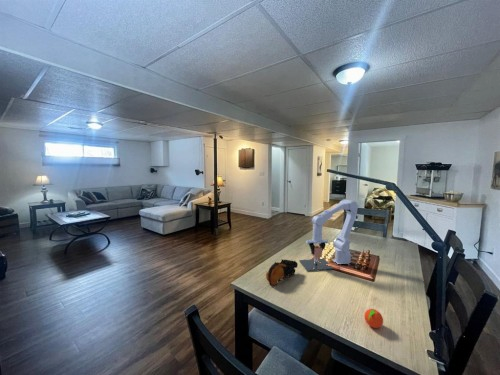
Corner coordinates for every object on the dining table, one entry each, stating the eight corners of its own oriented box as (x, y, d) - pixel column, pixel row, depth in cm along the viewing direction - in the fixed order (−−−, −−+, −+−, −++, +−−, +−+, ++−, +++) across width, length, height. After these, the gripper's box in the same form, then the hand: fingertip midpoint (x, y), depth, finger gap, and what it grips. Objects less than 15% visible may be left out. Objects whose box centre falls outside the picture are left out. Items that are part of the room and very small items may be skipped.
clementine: (376, 336, 86) (377, 319, 85) (359, 325, 91) (360, 310, 91) (385, 327, 90) (386, 311, 90) (368, 317, 96) (369, 302, 95)
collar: (318, 253, 146) (318, 245, 145) (321, 257, 141) (322, 248, 141) (311, 254, 145) (311, 245, 145) (314, 257, 141) (314, 248, 140)
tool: (294, 287, 131) (301, 263, 133) (271, 287, 116) (279, 260, 118) (284, 281, 137) (290, 258, 139) (261, 281, 122) (268, 255, 124)
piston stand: (323, 259, 153) (323, 253, 152) (333, 269, 139) (333, 262, 138) (299, 261, 150) (299, 254, 150) (307, 271, 136) (307, 264, 136)
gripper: (309, 236, 137) (308, 256, 138) (330, 235, 139) (329, 255, 140) (305, 232, 144) (304, 252, 145) (325, 232, 146) (324, 251, 147)
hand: (316, 253), depth 143 cm, fingers closed on collar, 5 cm apart
